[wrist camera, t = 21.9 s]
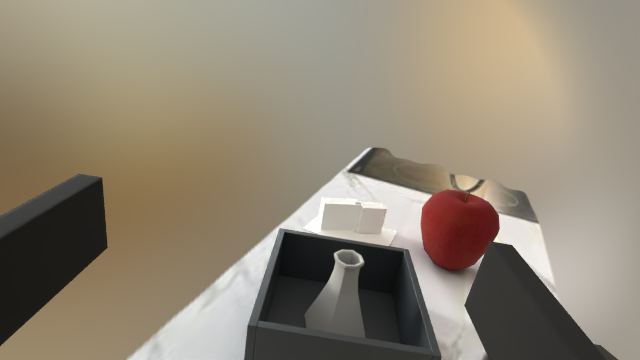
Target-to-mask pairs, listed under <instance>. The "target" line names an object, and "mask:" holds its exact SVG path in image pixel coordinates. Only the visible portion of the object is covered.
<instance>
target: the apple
mask: <svg viewBox="0 0 640 360" xmlns="http://www.w3.org/2000/svg"><path fill="white" fill-rule="evenodd" d="M499 229H500V227H499V215H498V214H497V212H496V211H495V209H494V208H493V206H492V205H491V204H490V203H489V202H487V201H485V200H484V199H482V198H479V197H477V196H475V195H472V194H470V192H469V193H465V192H461V191H456V190H445V191H442V192H439V193H436V194H433V195H432V197H431V198H430V199H429V200H428V201H427V202H426V203H425V205H424V206H423V207H422V216H421V231H422V240H423V246H424V250H425V251H426V253H427V254H428V255H429V257H430V258H431V260H432V261H433V262H434V263H435V264H437V265H438V266H440V267H442V268H444V269H448V270H458V269H462V268H467V267H470V266H472V265H474V264H475V263H476V262H477V261H478V260H479V259H480V258H481V257H482V256H483V254H484V253H485V252H486V249H487V247H488V244H489V242H493V241H494V239H495V237H496V236H497V234H498V232H499Z"/></svg>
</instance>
